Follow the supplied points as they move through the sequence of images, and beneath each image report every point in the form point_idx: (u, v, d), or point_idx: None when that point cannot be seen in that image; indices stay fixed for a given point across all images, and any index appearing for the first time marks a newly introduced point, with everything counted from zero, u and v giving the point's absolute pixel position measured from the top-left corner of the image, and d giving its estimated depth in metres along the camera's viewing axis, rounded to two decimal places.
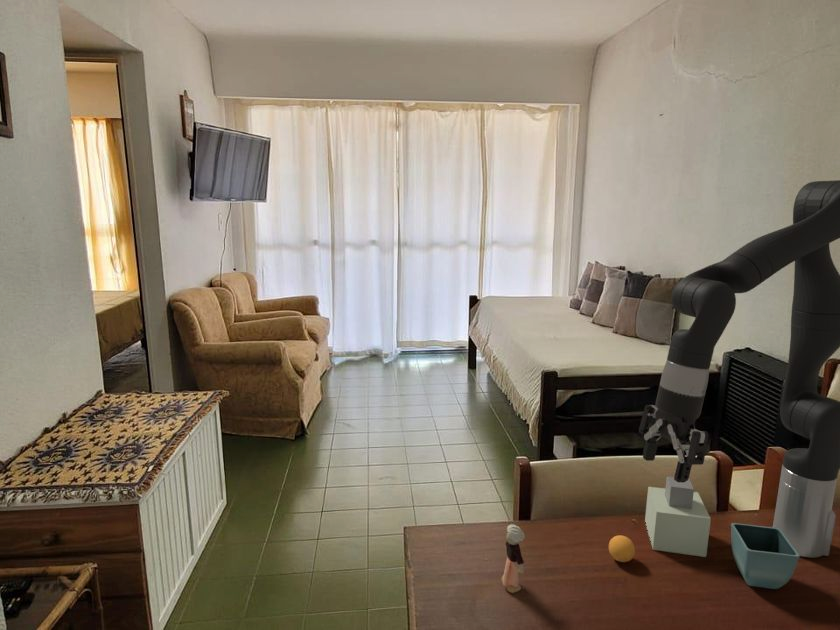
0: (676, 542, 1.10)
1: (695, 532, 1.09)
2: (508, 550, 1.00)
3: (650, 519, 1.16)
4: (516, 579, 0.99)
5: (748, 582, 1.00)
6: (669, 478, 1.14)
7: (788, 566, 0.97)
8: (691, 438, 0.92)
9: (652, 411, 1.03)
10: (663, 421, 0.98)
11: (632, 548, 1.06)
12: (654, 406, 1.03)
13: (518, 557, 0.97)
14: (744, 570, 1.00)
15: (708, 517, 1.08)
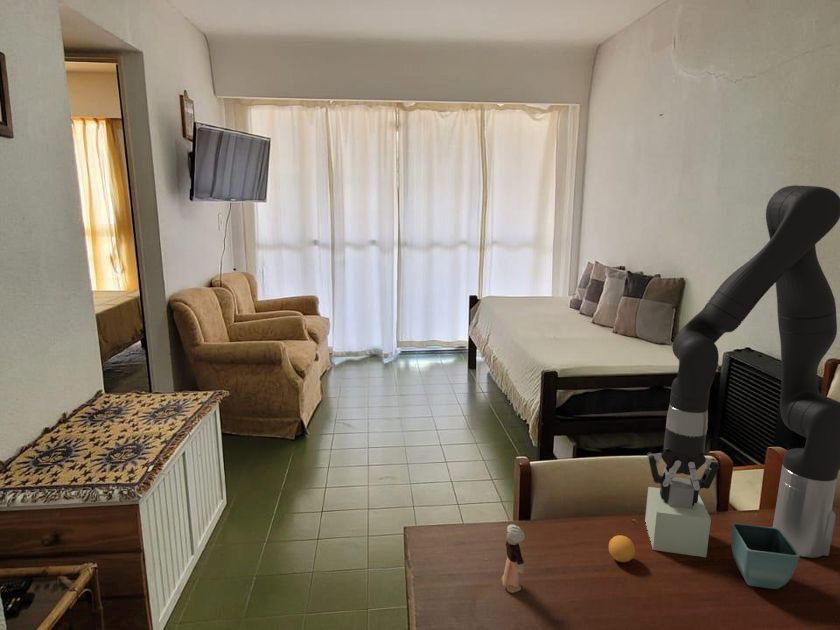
0: (676, 543, 1.10)
1: (695, 532, 1.09)
2: (508, 550, 1.00)
3: (650, 519, 1.15)
4: (516, 579, 0.99)
5: (748, 582, 1.00)
6: None
7: (788, 566, 0.97)
8: (711, 469, 1.09)
9: (656, 458, 1.12)
10: (679, 460, 1.10)
11: (632, 548, 1.06)
12: (651, 454, 1.13)
13: (518, 557, 0.97)
14: (744, 570, 1.00)
15: (708, 517, 1.08)
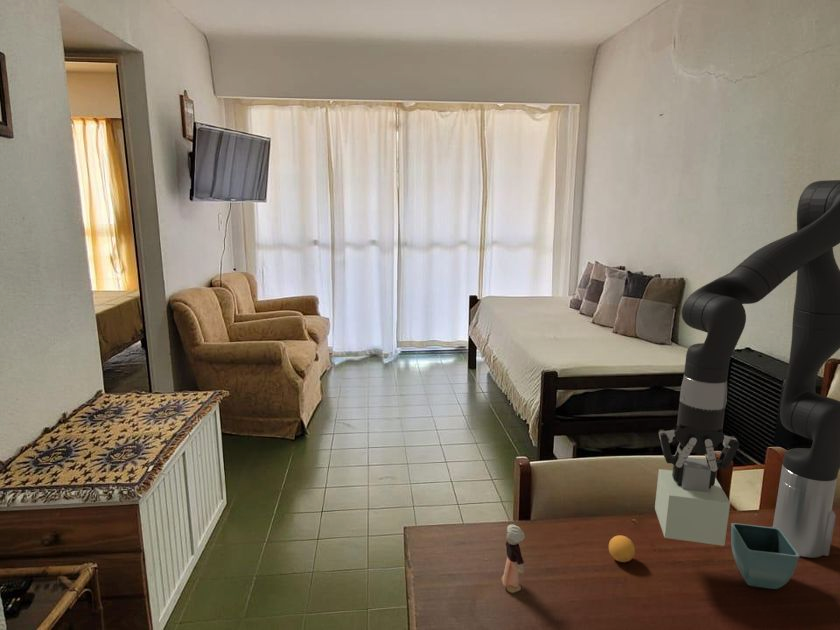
0: (690, 530, 0.99)
1: (712, 518, 0.97)
2: (508, 550, 1.00)
3: (661, 504, 1.04)
4: (516, 579, 0.99)
5: (748, 582, 1.00)
6: None
7: (788, 566, 0.97)
8: (730, 447, 0.98)
9: (668, 436, 1.01)
10: (695, 437, 0.99)
11: (632, 548, 1.06)
12: (663, 431, 1.02)
13: (518, 557, 0.97)
14: (744, 570, 1.00)
15: (727, 501, 0.96)
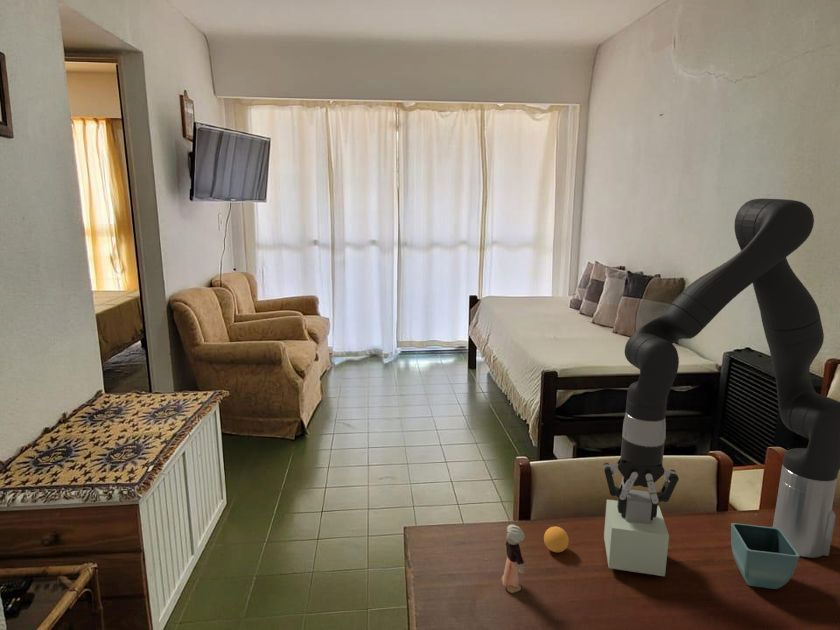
0: (633, 561, 1.03)
1: (652, 550, 1.01)
2: (508, 550, 1.00)
3: (607, 535, 1.08)
4: (516, 579, 0.99)
5: (748, 582, 1.00)
6: None
7: (788, 566, 0.97)
8: (670, 481, 1.02)
9: (612, 470, 1.05)
10: (636, 472, 1.02)
11: (564, 549, 1.10)
12: (608, 465, 1.05)
13: (518, 557, 0.97)
14: (744, 570, 1.00)
15: (666, 534, 1.00)
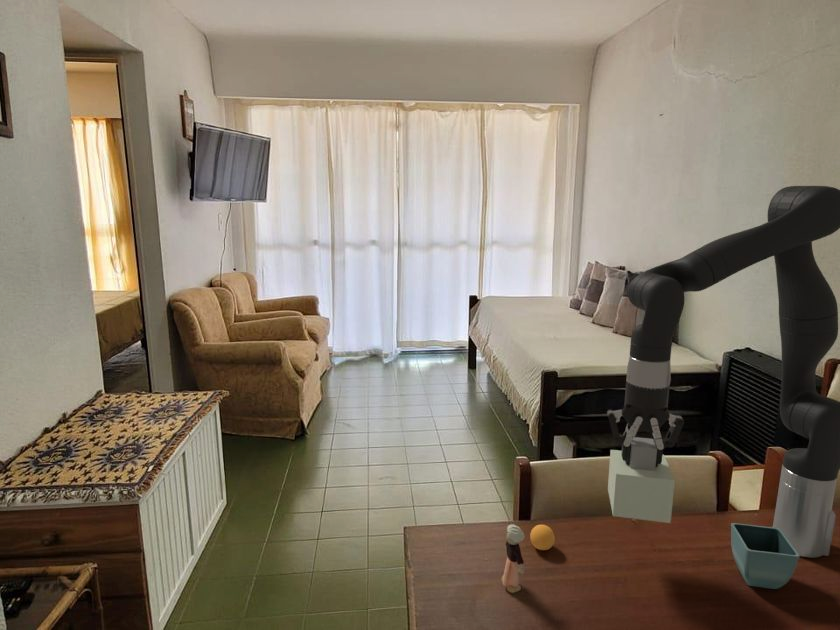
0: (637, 508, 1.00)
1: (658, 496, 0.99)
2: (508, 550, 1.00)
3: (611, 484, 1.06)
4: (516, 579, 0.99)
5: (748, 582, 1.00)
6: None
7: (788, 566, 0.97)
8: (676, 425, 0.99)
9: (616, 416, 1.02)
10: (641, 416, 1.00)
11: (551, 537, 1.10)
12: (611, 411, 1.03)
13: (518, 557, 0.97)
14: (744, 570, 1.00)
15: (672, 479, 0.98)
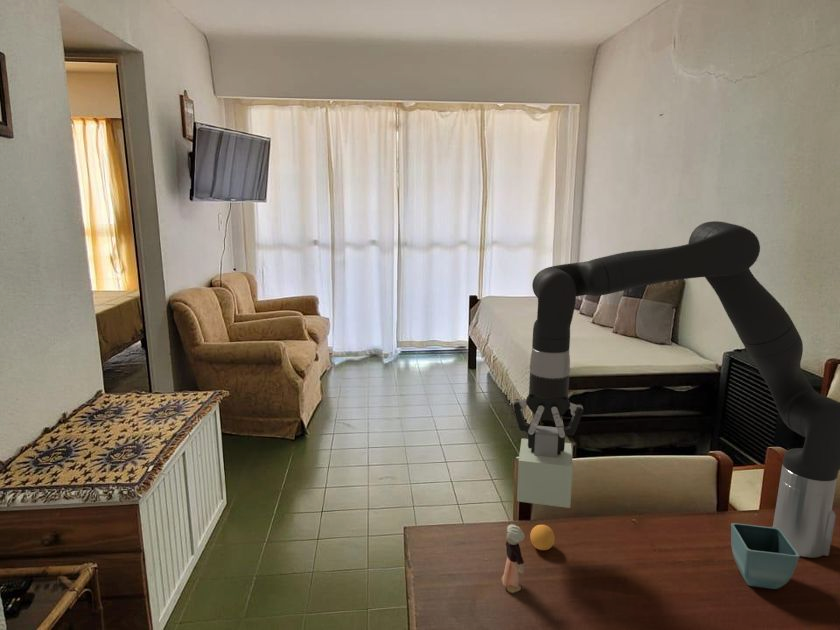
0: (539, 493, 1.04)
1: (557, 481, 1.03)
2: (508, 550, 1.00)
3: None
4: (516, 579, 0.99)
5: (748, 582, 1.00)
6: (537, 427, 1.08)
7: (788, 566, 0.97)
8: (575, 414, 1.03)
9: (521, 405, 1.07)
10: (543, 405, 1.04)
11: (551, 537, 1.10)
12: (517, 400, 1.07)
13: (518, 557, 0.97)
14: (744, 570, 1.00)
15: (570, 465, 1.02)
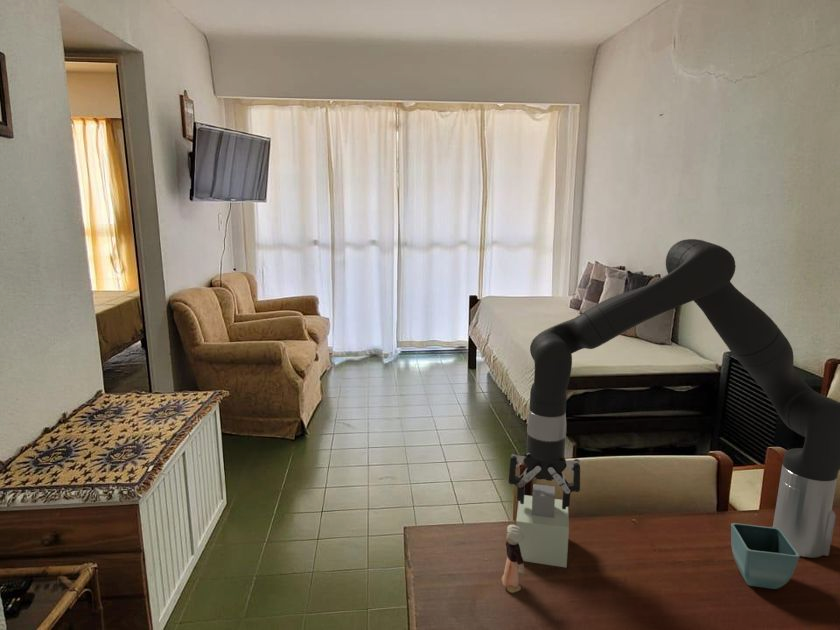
0: (536, 552, 1.07)
1: (554, 542, 1.06)
2: (508, 550, 1.00)
3: None
4: (516, 579, 0.99)
5: (748, 582, 1.00)
6: (535, 486, 1.11)
7: (788, 566, 0.97)
8: (574, 471, 1.06)
9: (517, 460, 1.09)
10: (540, 466, 1.07)
11: None
12: (515, 455, 1.10)
13: (518, 557, 0.97)
14: (744, 570, 1.00)
15: (567, 527, 1.05)
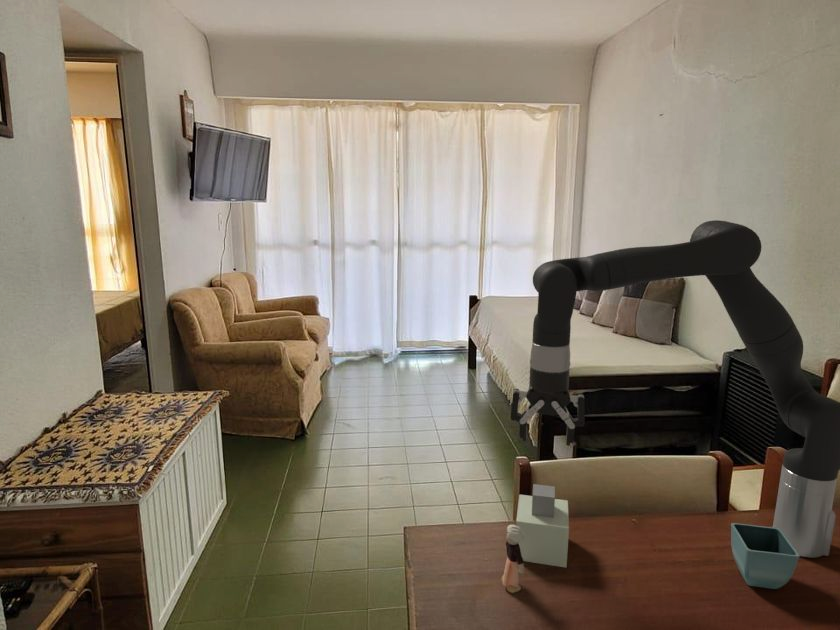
0: (536, 552, 1.07)
1: (554, 542, 1.06)
2: (508, 550, 1.00)
3: None
4: (516, 579, 0.99)
5: (748, 582, 1.00)
6: (535, 486, 1.11)
7: (788, 566, 0.97)
8: (578, 404, 1.03)
9: (520, 396, 1.06)
10: (543, 401, 1.04)
11: None
12: (518, 390, 1.07)
13: (518, 557, 0.97)
14: (744, 570, 1.00)
15: (567, 527, 1.05)
